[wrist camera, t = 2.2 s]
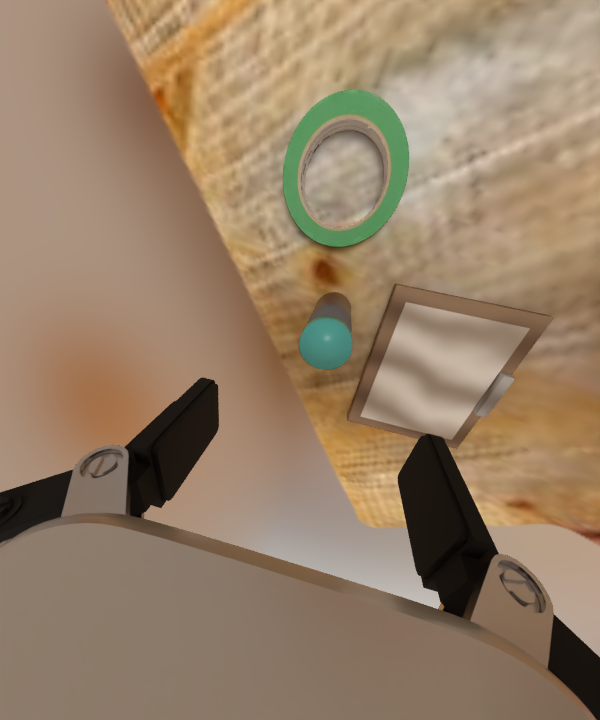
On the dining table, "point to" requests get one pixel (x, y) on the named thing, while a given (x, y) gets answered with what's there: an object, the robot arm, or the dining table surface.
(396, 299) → the clipboard
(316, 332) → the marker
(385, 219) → the tape roll
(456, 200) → the dining table surface
